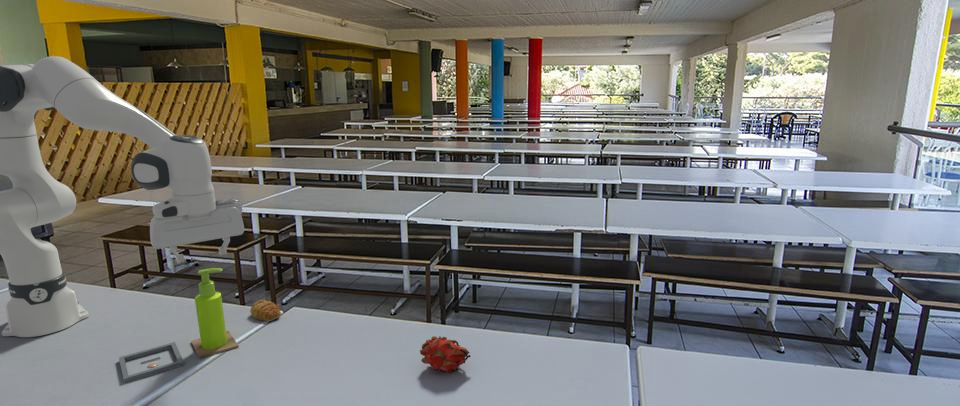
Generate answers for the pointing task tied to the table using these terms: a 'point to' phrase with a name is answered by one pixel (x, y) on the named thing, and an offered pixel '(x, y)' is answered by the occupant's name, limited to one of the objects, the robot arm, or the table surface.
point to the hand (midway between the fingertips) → (202, 258)
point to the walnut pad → (207, 352)
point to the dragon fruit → (443, 354)
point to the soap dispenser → (210, 312)
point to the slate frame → (147, 352)
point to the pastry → (265, 310)
